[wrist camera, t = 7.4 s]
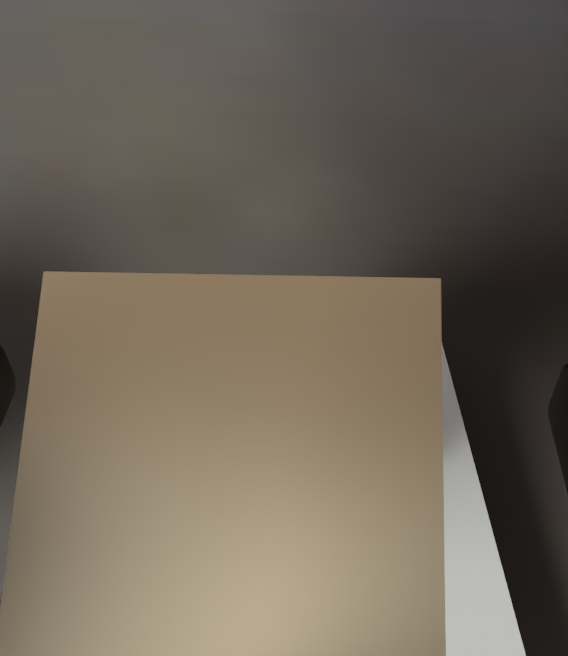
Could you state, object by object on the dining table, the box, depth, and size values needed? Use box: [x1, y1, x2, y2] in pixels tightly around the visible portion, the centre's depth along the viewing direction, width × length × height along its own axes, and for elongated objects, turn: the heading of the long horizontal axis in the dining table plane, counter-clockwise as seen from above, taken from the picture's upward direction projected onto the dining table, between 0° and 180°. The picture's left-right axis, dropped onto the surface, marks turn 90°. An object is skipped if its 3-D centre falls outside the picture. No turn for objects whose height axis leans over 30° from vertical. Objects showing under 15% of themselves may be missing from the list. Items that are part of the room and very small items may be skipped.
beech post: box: [0, 271, 446, 656], centre depth 10 cm, size 4×4×11 cm
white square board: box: [442, 345, 526, 656], centre depth 16 cm, size 12×10×3 cm
